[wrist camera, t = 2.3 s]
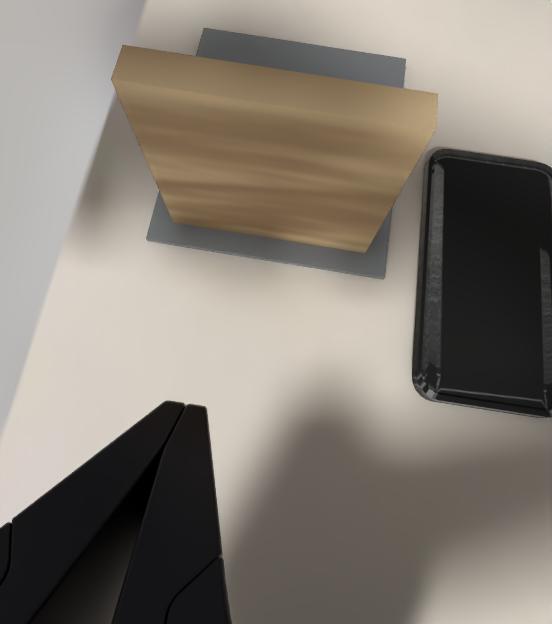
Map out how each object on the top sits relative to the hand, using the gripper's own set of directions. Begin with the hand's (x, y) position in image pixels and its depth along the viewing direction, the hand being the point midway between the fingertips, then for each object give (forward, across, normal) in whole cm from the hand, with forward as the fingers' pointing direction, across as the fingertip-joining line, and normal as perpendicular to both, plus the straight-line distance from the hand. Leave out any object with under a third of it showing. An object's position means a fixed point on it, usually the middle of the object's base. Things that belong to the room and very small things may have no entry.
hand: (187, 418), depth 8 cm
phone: (+17, -13, +2) cm, 21 cm away
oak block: (+17, 0, +1) cm, 17 cm away
